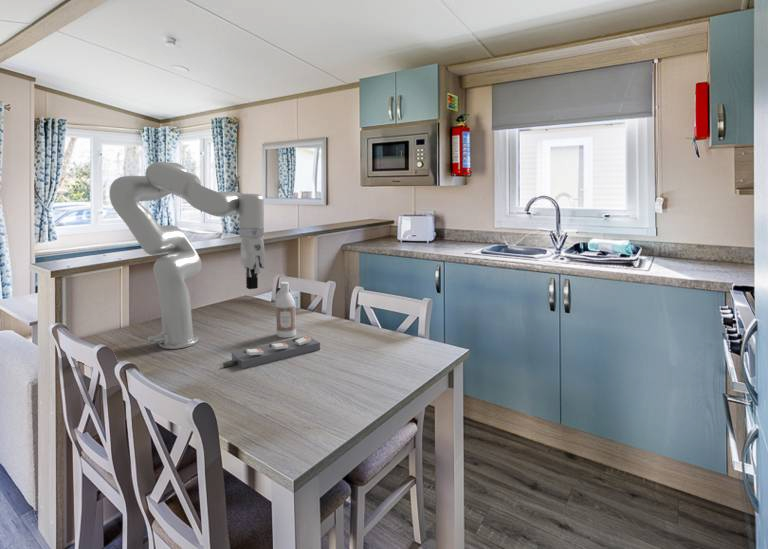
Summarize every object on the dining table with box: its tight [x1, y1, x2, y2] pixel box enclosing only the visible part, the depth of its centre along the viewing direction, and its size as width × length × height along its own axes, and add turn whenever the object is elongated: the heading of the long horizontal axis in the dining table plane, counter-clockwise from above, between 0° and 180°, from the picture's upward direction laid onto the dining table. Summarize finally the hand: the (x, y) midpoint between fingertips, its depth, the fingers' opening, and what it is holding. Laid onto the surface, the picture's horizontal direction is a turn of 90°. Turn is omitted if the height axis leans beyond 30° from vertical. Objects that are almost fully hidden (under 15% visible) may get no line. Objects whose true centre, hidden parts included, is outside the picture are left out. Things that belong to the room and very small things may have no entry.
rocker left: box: [245, 348, 264, 355], centre depth 142 cm, size 4×3×1 cm
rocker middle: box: [271, 342, 288, 349], centre depth 148 cm, size 4×3×1 cm
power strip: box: [222, 335, 321, 370], centre depth 148 cm, size 31×9×3 cm, turn 127°
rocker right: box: [295, 335, 312, 345], centre depth 152 cm, size 4×3×1 cm
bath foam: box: [275, 281, 297, 339], centre depth 167 cm, size 7×7×20 cm
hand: (252, 288), depth 150 cm, fingers closed
